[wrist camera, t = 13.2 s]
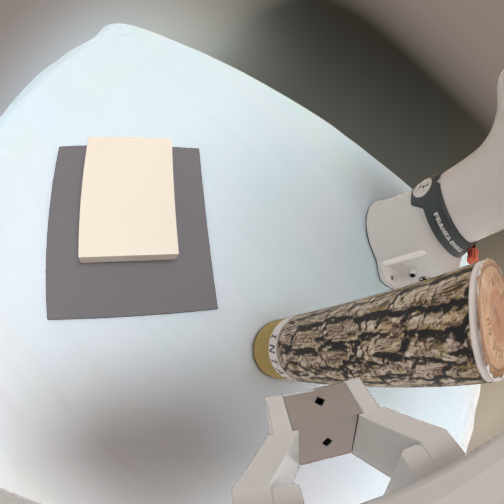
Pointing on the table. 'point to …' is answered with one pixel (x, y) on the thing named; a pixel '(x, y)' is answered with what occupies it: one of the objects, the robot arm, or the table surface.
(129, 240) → the tile
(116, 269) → the mat
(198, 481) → the table surface
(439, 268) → the robot arm
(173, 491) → the table surface
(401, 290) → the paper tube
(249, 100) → the table surface
